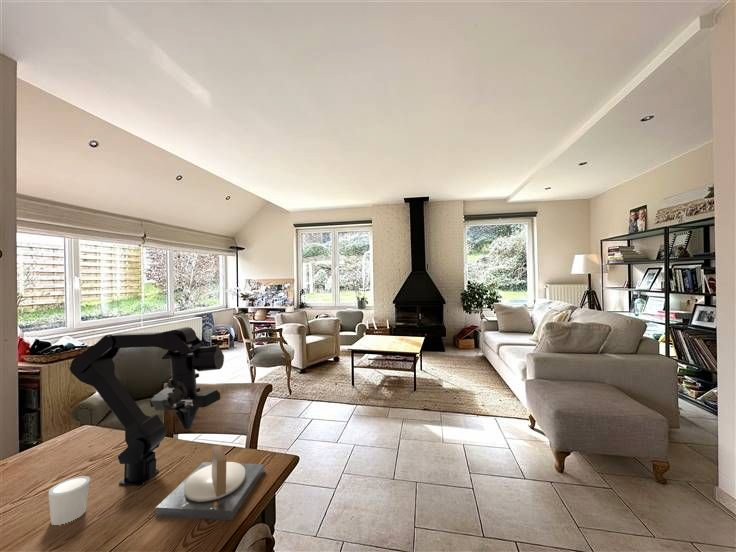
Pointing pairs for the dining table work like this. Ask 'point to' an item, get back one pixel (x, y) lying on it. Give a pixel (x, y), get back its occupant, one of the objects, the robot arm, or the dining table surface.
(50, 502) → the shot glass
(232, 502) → the dial plate
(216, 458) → the dial
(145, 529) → the dining table surface
